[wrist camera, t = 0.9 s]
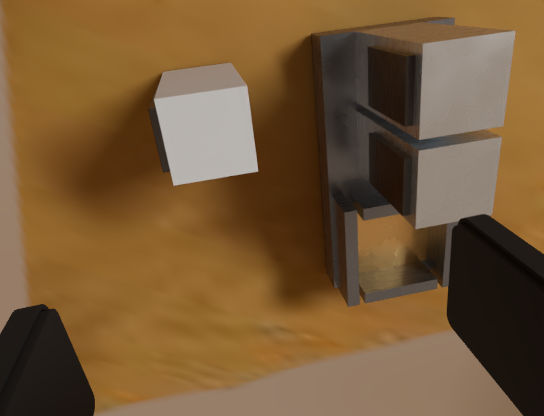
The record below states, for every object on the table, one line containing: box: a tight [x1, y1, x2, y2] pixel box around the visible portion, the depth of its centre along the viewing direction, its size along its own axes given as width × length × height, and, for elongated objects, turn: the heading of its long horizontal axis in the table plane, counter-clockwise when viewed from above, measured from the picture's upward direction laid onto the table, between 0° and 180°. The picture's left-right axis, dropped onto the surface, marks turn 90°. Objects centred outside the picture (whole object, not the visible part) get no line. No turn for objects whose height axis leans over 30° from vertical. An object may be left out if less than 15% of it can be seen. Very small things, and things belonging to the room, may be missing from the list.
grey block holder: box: [311, 17, 515, 307], centre depth 26 cm, size 17×8×10 cm, turn 6°
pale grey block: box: [148, 63, 258, 185], centre depth 23 cm, size 4×4×8 cm
